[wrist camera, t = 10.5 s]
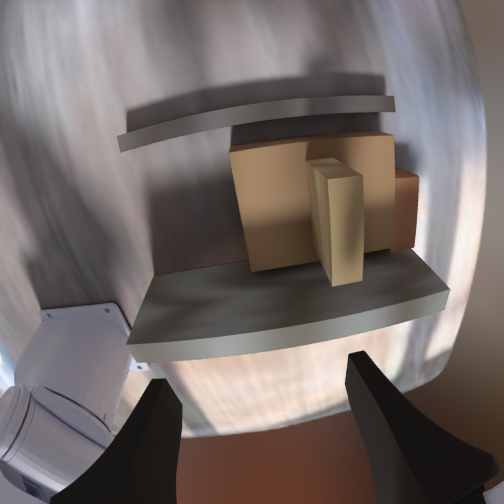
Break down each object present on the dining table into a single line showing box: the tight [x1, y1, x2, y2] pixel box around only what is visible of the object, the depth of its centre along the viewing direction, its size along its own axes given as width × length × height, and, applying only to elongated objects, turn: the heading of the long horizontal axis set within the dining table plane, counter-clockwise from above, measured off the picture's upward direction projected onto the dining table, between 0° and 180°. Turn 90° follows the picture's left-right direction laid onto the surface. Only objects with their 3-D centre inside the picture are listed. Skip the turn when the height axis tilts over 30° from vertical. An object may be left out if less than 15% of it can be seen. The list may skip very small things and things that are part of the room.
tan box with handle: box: [229, 130, 395, 287], centre depth 15 cm, size 9×7×7 cm
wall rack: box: [117, 95, 450, 363], centre depth 15 cm, size 18×12×7 cm, turn 99°
